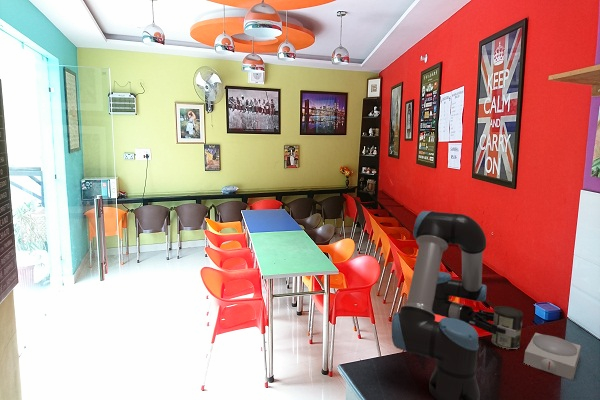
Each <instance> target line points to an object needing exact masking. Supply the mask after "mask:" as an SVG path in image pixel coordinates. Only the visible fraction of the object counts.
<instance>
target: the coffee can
mask: <svg viewBox="0 0 600 400" xmlns="http://www.w3.org/2000/svg"><path fill="white" fill-rule="evenodd" d="M493 310H494V311H493V312H494V321H492V322H493V323H492V324H494V325H496V326H498V325H499V326H502V327H506V328H509V329H513V330H516V336H515V338H514V337H511V336H508V335H504V334H501V333H498V332H496V334H493V333H491V343H492V344H493V345H495V346H496V347H498V346H499V347H498V348H501V347H502V348H501V349H504V348H506V349H505V350H509V349H516V350H519V349H520V348H521V347H520V345H521V333H522V328H521V325H522V326H523V316H524V313H523V312H522V311H521V310H520V309H518V308H515V307H511V306H506V305H497V306H494V308H493ZM518 348H519V349H518Z"/></svg>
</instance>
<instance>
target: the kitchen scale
mask: <svg viewBox="0 0 600 400" xmlns="http://www.w3.org/2000/svg"><path fill="white" fill-rule="evenodd" d="M580 355H581V345H580V344H577V343H573V342H570V341H568V340H566V339H563V338H561V337H558V336H553V335H548V334H541V333H538V332H535V333H534V335H533V336H532V337H531V340H530V342H529V343H528V345H527V347H526V349H525V351H524V358H523V364H524V363H525V364H524V365H526V364H527V365H526V366H529V365H530V366H529V367H532V368H535V369H538V370H541V371H544V372H547V373H550V374H553V375H556V376H559V377H562V378H564V379H567V380H570V381H574V379H575V378H574V377H575V375H576V371H577V367H578V363H579V359H580Z"/></svg>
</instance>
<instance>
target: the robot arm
mask: <svg viewBox="0 0 600 400" xmlns="http://www.w3.org/2000/svg"><path fill="white" fill-rule="evenodd" d="M413 226H414V227H413V234H412V235H413V238H414V239H415V240H416V241H415V243H416V244H417V246H418V250H417V255H416V260H415V263H414V267H413V268H414V269H413V273H412V278H411V281H410V286H409V291H408V297H407V300H406V303H405V304H403V305H402V306H401V307H400V309H399V310H400V311H399V312H398V311H397V312H394V313H393V316H392V320H391V341H392V344H393V346H394V347H395V348H396V349H399V350H402V351H404V352H406V353H408V352H409V353H412V354H416V355H419V356H421V357H422V356H424V357H425V358H426V357H427V358H430V359H434V360H436V364H435V365H436V366H435V368H434V371H433V372H432V374H431V376H430V378H429V381H428V382H429V383H428V390H429V392H430V394H431V395H432V397H433V398H435V400H480V397H481V393H480V392H481V391H480V388H479V384H478V381H477V376H476V370H477V362H478V350H479V347H480V345H479V333H478V332H477V330H476V329H475V327H476V328H479V329H480V330H482V331H485V332H487V333H490V334H492V333H493V334H496V332H498V333H501V334H504V335H508V336H511V337H514V338H515V336H516V330H513V329H509V328H506V327H502V326H499V325H498V326H496V325H494V324H493V323H492V322H493V321H494V311H493V312H492V311H486V310H483V309H479V310H478V311H474V308H473V307H472V306H470V305H466V304H463V303H460V302H459V303H458V302H456V301H453V300H450V297H454V298H460V299H465V300H469V301H473V302H479V303H480V302H482V303H484V302H485V301H486V299H487V290H488V289H487V288H488V287H487V285H486V284H483V283H482V281H483V278H482V277H483V257H484V255H483V254H484V251H485V250H486V248H487V237H486V235H485V232H484V230H483V228H482V226H480V224H479V223H478V222H477V221H476V220H475V219H473V218H472V217H470V216H468V215H466V214H463V213H452V212H443V211H435V210H430V211H429V210H423V211H421V212H420V213H419V214H417V216H416V219H415V222H414V225H413ZM449 244H450V245H458V247H459V249H460V250H461V280H460V279H454V278H452V275H451V274H450V273H448V272H445V271H440V269H441V263H442V258H443V252H444V251H446V250H448V248H449ZM436 316H441V317H443V318H441V319H440V320H439V321H436ZM522 327H523V324H522V325H521V329H522Z"/></svg>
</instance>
